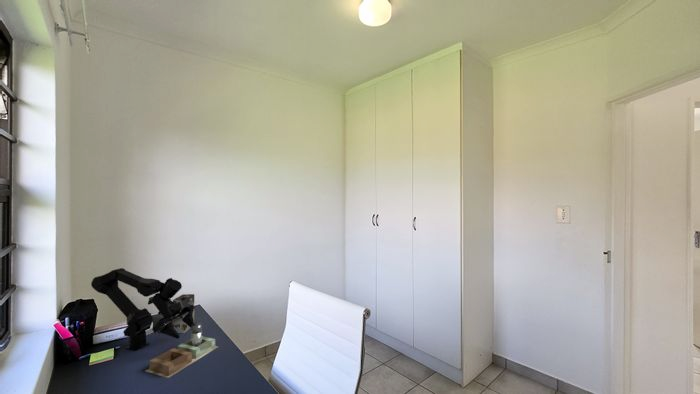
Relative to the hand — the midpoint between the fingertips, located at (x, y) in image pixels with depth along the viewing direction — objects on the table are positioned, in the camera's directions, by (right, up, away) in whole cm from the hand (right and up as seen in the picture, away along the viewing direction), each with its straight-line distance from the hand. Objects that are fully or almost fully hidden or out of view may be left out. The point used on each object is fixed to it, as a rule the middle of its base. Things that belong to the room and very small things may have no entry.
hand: (186, 332), depth 127 cm
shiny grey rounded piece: (+5, -7, -1) cm, 9 cm away
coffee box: (-14, -8, +22) cm, 27 cm away
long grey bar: (-25, -9, +26) cm, 37 cm away
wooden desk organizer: (+3, -8, -6) cm, 11 cm away
